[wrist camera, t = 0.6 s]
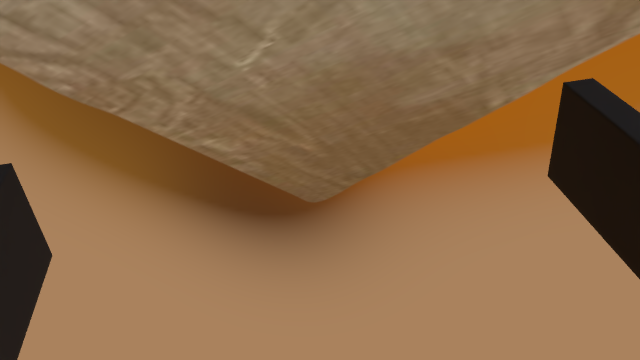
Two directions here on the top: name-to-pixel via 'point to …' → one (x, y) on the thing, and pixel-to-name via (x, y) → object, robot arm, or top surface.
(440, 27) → the top surface
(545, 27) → the top surface
